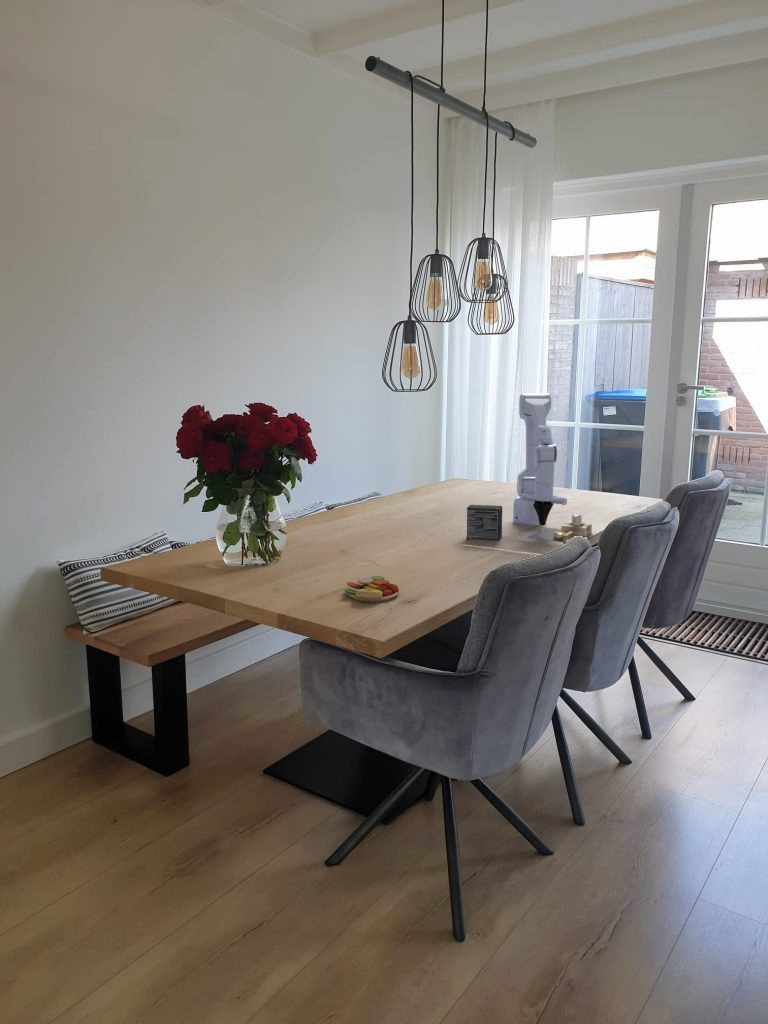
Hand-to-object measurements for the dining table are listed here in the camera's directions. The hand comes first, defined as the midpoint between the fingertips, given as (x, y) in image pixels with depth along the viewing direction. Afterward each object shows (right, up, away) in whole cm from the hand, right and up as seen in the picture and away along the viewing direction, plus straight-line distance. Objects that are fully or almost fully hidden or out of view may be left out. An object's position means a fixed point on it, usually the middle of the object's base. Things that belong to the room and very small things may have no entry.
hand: (542, 524), depth 260 cm
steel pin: (+11, -3, +2) cm, 12 cm away
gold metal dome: (+4, -4, -4) cm, 8 cm away
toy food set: (-53, -17, -59) cm, 81 cm away
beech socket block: (+11, -3, +2) cm, 12 cm away
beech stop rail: (+7, -5, -6) cm, 10 cm away
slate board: (+5, -4, +1) cm, 6 cm away
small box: (-19, -5, -1) cm, 19 cm away
